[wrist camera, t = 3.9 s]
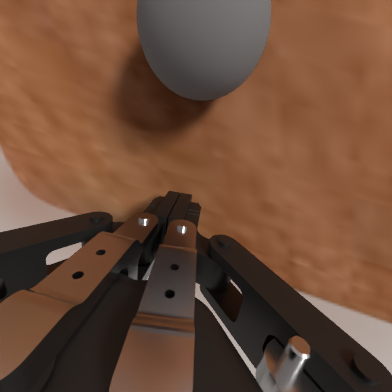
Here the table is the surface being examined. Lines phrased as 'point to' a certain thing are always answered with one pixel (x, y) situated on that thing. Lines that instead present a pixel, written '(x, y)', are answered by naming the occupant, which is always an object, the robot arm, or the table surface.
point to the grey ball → (203, 43)
